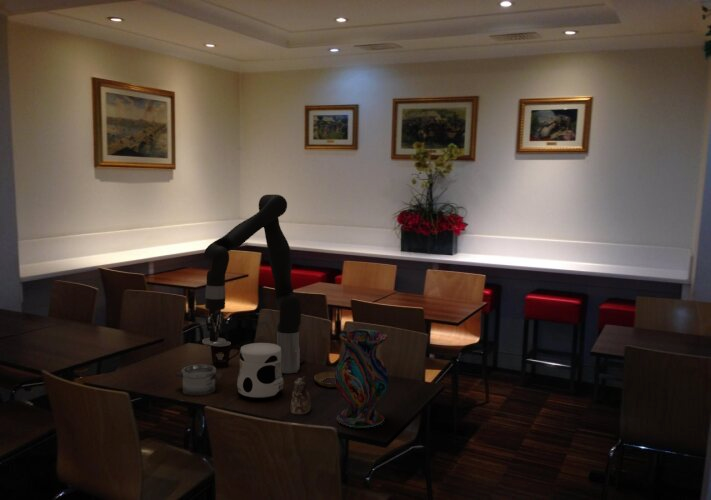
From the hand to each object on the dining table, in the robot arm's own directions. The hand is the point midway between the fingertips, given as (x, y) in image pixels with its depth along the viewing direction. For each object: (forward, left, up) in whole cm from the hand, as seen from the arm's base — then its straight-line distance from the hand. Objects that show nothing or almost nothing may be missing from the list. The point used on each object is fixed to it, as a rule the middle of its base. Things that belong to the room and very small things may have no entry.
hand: (214, 339), depth 242 cm
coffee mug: (+3, -22, -18) cm, 29 cm away
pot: (+3, +8, -18) cm, 20 cm away
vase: (-61, +26, -18) cm, 68 cm away
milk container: (-21, +8, -18) cm, 29 cm away
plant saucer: (-46, -10, -19) cm, 50 cm away
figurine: (-39, +21, -18) cm, 47 cm away
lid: (0, 0, -1) cm, 1 cm away
